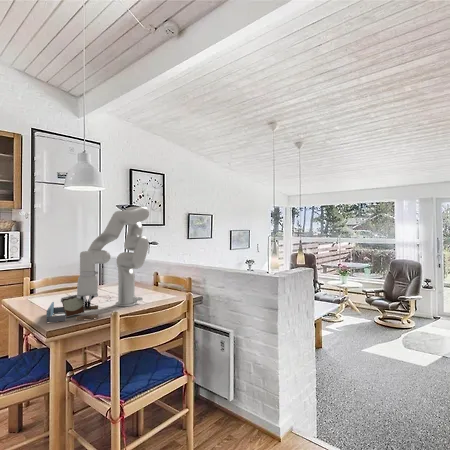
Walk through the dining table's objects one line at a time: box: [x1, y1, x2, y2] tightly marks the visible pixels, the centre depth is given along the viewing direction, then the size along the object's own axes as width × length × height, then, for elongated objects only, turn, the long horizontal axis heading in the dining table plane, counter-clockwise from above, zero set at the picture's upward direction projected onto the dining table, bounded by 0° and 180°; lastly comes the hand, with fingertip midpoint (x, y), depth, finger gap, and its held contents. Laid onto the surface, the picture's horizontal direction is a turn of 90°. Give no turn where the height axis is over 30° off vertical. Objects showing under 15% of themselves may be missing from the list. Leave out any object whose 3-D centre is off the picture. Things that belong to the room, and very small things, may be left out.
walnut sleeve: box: [75, 304, 99, 321], centre depth 174 cm, size 10×22×2 cm, turn 21°
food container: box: [60, 294, 85, 318], centre depth 172 cm, size 12×6×10 cm, turn 139°
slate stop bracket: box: [46, 301, 67, 323], centre depth 169 cm, size 8×20×6 cm, turn 21°
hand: (87, 308), depth 173 cm, fingers closed
